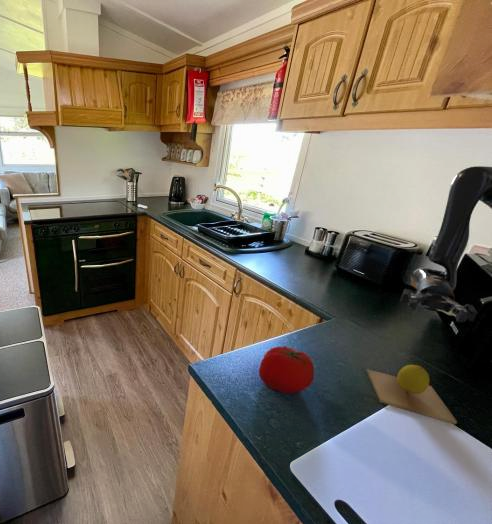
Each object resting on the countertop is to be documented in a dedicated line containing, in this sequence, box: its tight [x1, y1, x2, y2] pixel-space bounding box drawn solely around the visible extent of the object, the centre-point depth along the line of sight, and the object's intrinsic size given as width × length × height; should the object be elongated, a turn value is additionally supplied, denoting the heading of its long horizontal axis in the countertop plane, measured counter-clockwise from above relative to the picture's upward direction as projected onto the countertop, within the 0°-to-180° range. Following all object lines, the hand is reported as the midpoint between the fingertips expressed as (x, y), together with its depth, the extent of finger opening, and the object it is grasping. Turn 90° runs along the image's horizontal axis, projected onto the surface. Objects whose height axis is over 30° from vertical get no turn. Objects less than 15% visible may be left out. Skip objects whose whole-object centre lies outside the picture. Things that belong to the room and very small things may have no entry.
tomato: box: [258, 344, 315, 394], centre depth 71 cm, size 11×13×10 cm
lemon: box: [396, 364, 431, 394], centre depth 70 cm, size 6×6×8 cm
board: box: [365, 368, 458, 425], centre depth 72 cm, size 14×12×1 cm
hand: (436, 312), depth 73 cm, fingers open, 8 cm apart
